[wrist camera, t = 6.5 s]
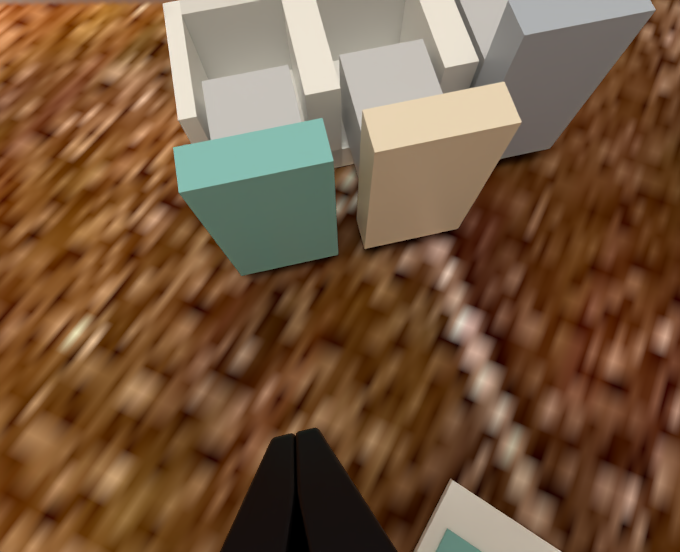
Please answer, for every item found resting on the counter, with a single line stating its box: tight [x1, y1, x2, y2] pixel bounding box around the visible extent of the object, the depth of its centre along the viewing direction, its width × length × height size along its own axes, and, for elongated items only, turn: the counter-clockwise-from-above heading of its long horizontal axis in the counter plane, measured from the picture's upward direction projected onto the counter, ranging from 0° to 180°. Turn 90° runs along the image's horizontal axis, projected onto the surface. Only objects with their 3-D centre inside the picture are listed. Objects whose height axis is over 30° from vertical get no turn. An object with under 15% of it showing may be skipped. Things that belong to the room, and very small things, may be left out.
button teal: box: [173, 65, 338, 276], centre depth 17 cm, size 7×4×8 cm, turn 13°
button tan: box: [339, 39, 522, 249], centre depth 17 cm, size 7×4×8 cm, turn 13°
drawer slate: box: [454, 0, 656, 159], centre depth 18 cm, size 7×4×8 cm, turn 13°
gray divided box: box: [163, 0, 479, 168], centre depth 20 cm, size 6×17×6 cm, turn 103°
